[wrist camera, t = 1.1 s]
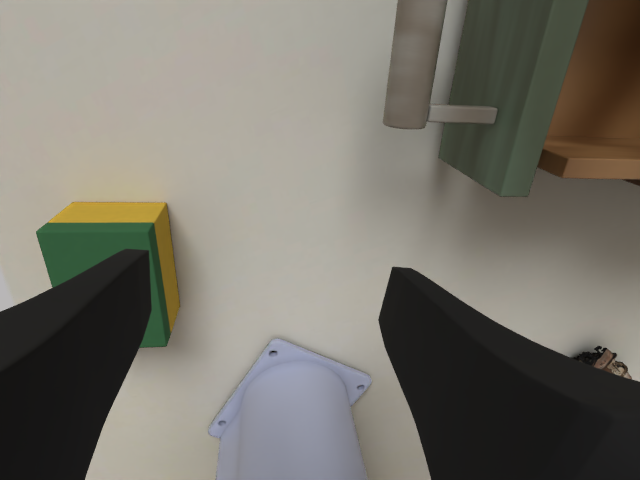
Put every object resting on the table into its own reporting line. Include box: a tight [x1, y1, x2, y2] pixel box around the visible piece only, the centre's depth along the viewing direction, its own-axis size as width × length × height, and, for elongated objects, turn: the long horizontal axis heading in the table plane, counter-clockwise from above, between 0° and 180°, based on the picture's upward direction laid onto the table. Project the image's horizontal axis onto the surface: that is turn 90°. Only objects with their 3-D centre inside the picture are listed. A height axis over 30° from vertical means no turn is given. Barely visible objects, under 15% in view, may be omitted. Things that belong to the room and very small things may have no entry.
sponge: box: [36, 202, 180, 348], centre depth 19 cm, size 4×6×4 cm
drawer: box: [383, 0, 640, 197], centre depth 15 cm, size 17×10×6 cm, turn 87°
